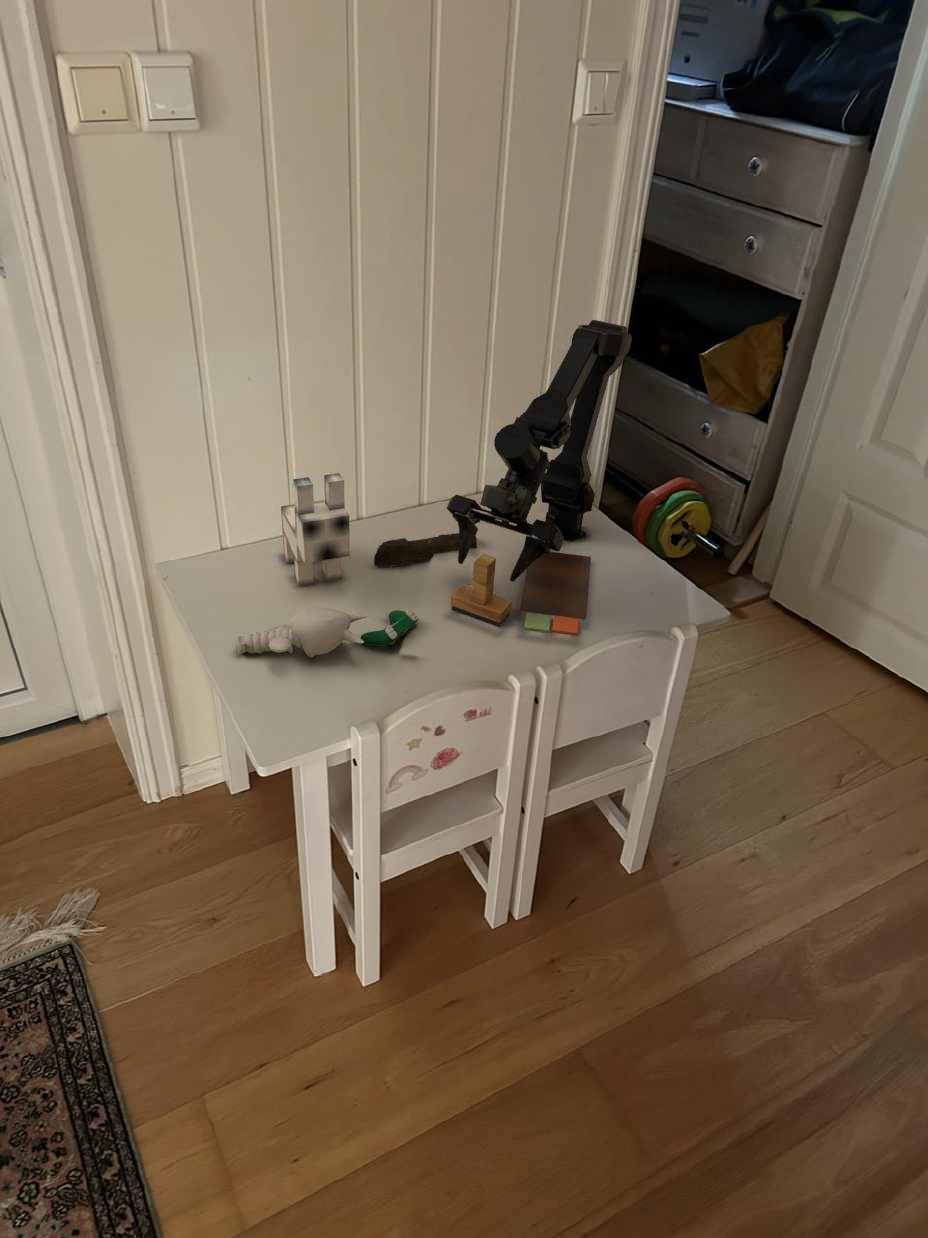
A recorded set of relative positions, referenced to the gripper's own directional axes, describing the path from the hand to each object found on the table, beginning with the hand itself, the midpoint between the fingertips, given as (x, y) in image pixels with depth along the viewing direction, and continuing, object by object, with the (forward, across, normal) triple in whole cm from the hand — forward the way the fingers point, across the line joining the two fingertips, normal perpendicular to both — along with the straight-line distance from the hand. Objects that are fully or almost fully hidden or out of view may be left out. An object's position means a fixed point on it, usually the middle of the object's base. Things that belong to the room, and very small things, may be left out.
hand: (485, 572), depth 147 cm
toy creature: (+22, -18, -10) cm, 30 cm away
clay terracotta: (+4, +13, +9) cm, 16 cm away
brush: (+7, 0, +6) cm, 9 cm away
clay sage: (+5, +9, +7) cm, 13 cm away
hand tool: (-1, -17, +14) cm, 22 cm away
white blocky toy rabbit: (+9, -31, +4) cm, 32 cm away
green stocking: (+15, -10, -2) cm, 18 cm away
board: (-4, +7, +17) cm, 18 cm away
